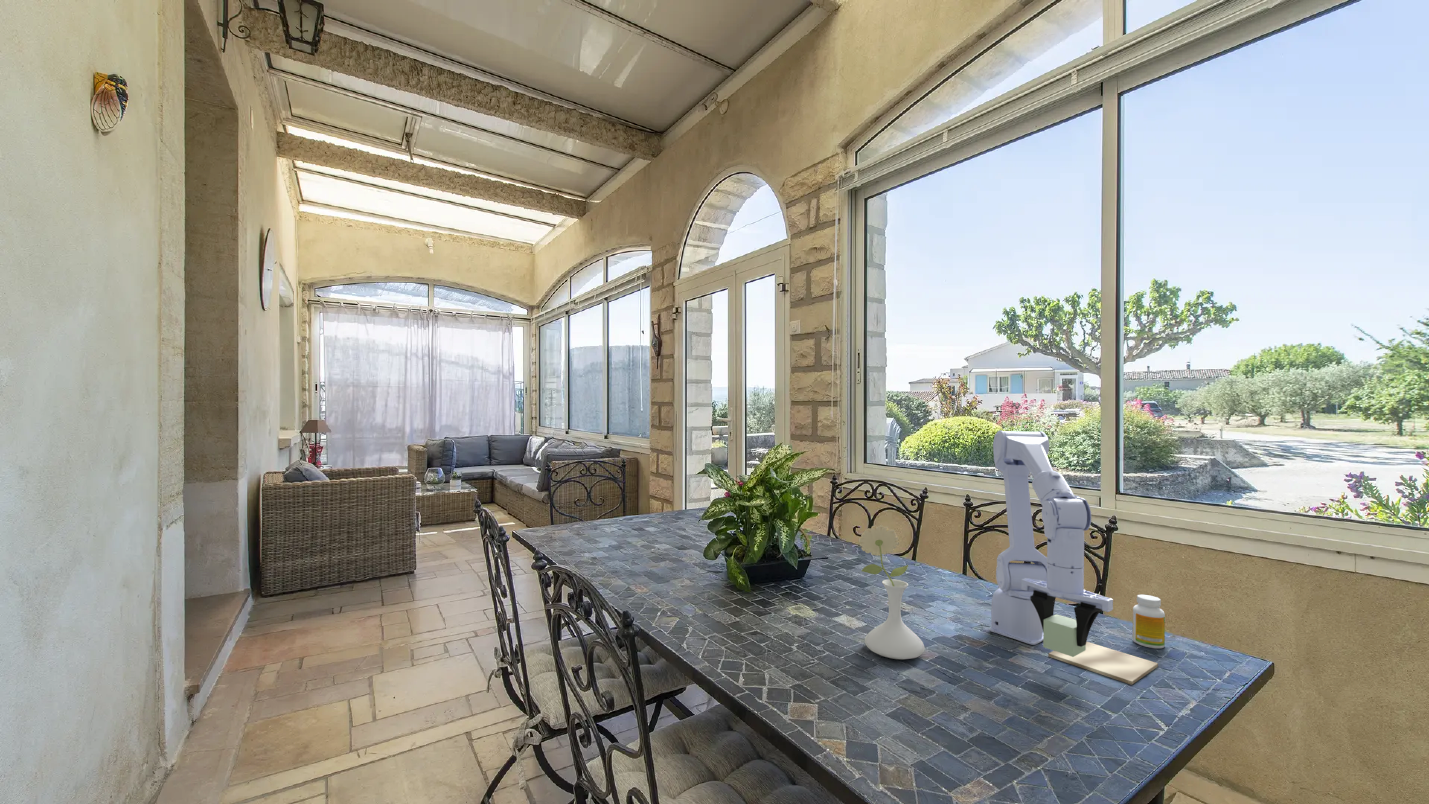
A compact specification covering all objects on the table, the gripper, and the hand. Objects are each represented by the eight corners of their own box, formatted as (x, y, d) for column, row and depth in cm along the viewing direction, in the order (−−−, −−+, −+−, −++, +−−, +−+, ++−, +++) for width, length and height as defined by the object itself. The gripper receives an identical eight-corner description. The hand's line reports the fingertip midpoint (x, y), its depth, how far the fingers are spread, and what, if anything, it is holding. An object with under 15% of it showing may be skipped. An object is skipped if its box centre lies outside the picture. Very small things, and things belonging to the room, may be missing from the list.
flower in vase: (927, 647, 117) (928, 524, 117) (921, 670, 106) (923, 535, 107) (861, 635, 122) (863, 518, 122) (850, 656, 112) (852, 527, 112)
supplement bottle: (1170, 650, 117) (1170, 602, 117) (1140, 647, 118) (1141, 600, 118) (1155, 640, 122) (1156, 594, 123) (1127, 637, 123) (1127, 592, 124)
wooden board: (1048, 656, 113) (1048, 653, 113) (1077, 641, 121) (1077, 638, 121) (1131, 684, 102) (1131, 681, 102) (1157, 666, 110) (1157, 663, 110)
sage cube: (1043, 647, 105) (1043, 619, 105) (1055, 640, 108) (1056, 614, 108) (1073, 657, 101) (1073, 628, 101) (1085, 650, 103) (1085, 622, 104)
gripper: (1013, 558, 108) (1012, 631, 108) (1101, 578, 96) (1100, 659, 96) (1032, 553, 112) (1031, 623, 112) (1118, 571, 100) (1117, 649, 100)
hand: (1064, 639), depth 104 cm, fingers closed on sage cube, 5 cm apart
